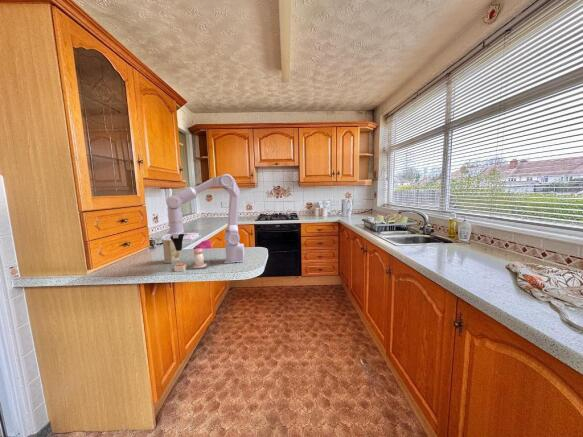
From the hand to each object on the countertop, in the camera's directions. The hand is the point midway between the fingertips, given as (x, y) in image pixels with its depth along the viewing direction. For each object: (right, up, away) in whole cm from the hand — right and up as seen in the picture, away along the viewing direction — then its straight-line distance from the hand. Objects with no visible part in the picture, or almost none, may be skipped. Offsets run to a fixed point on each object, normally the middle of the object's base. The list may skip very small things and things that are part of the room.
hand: (179, 250), depth 108 cm
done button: (0, -8, +1) cm, 9 cm away
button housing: (0, -9, +1) cm, 9 cm away
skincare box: (-11, -8, +15) cm, 20 cm away
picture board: (+8, -8, +6) cm, 13 cm away
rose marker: (+8, -8, +4) cm, 12 cm away
